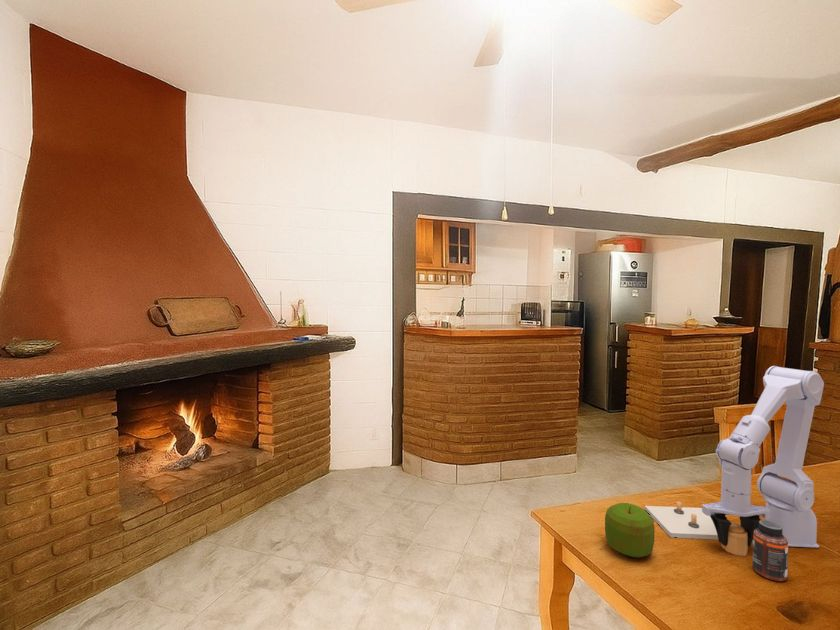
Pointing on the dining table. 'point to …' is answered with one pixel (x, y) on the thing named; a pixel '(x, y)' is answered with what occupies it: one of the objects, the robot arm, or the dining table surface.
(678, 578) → the dining table surface
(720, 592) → the dining table surface
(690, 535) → the junction plate
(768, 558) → the supplement bottle
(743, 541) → the acorn nut
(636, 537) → the apple
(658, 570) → the dining table surface
